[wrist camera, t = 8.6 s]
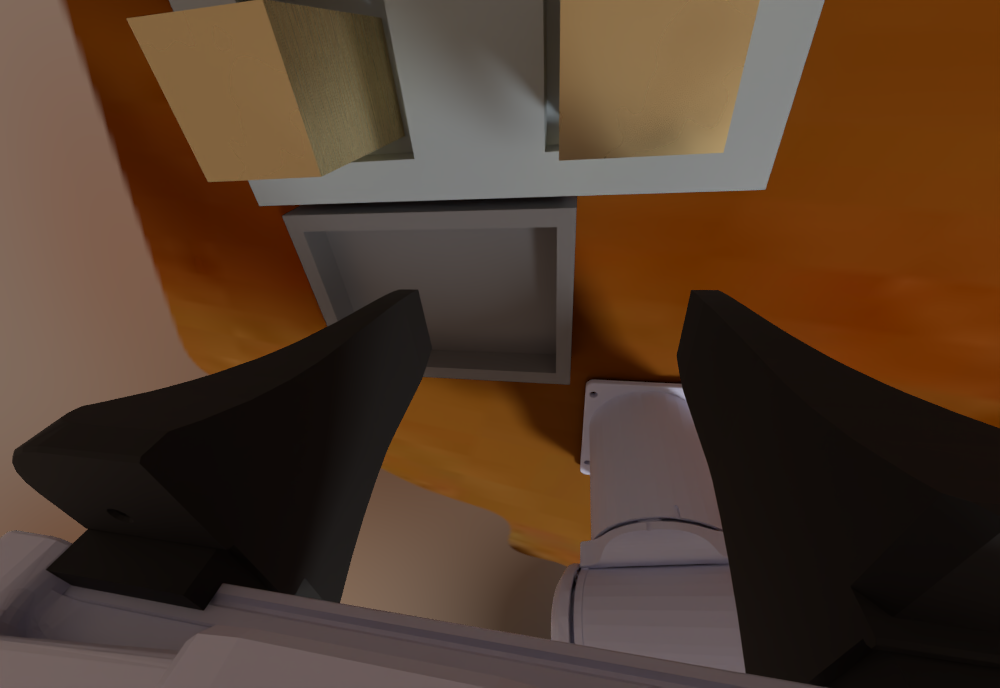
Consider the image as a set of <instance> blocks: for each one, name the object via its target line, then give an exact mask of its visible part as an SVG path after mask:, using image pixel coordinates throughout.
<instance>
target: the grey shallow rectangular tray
mask: <svg viewBox="0 0 1000 688" xmlns="http://www.w3.org/2000/svg"><path fill="white" fill-rule="evenodd" d="M576 207H577V196H554V197H523V198H492V199H461V200H430V201H399V202H368V203H337V204H306V205H301V206H299V207H297V208H295V209H293V210H292V211H290V212H288V213H286V214H284V215H283V216H282V217H283V220H284V222H285V225H286V227H287V229H288V232H289V234H290V237H291V239H292V242H293V244H294V246H295V249H296V251H297V254H298V256H299V258H300V261H301V263H302V266H303V268H304V271H305V273H306V275H307V278H308V280H309V283H310V285H311V288H312V290H313V292H314V295H315V297H316V300H317V302H318V304H319V307H320V309H321V312H322V314H323V317H324V319H325V321H326V324H327V326H330V325H332V324H333V323H335V322H337V321H339V320H341V319H343V318H345V317H346V316H348V315H350V314H352V313H354V312H355V311H357V310H359V309H361V308H362V307H364V306H366V305H368V304H370V303H371V302H373V301H375V300H377V299H379V298H381V297H383V296H384V295H387V294H389V293H391V292H393V291H396V290H398V289H418V291H419V295H420V299H421V303H422V307H423V312H424V316H425V320H426V324H427V328H428V333H429V337H430V341H431V345H432V350H431V353H430V357H429V360H428V363H427V366H426V369H425V372H424V375H423V377H437V378H455V379H474V380H492V381H511V382H529V383H547V384H566V385H570V371H571V343H572V316H573V289H574V262H575V234H576Z"/></svg>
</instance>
